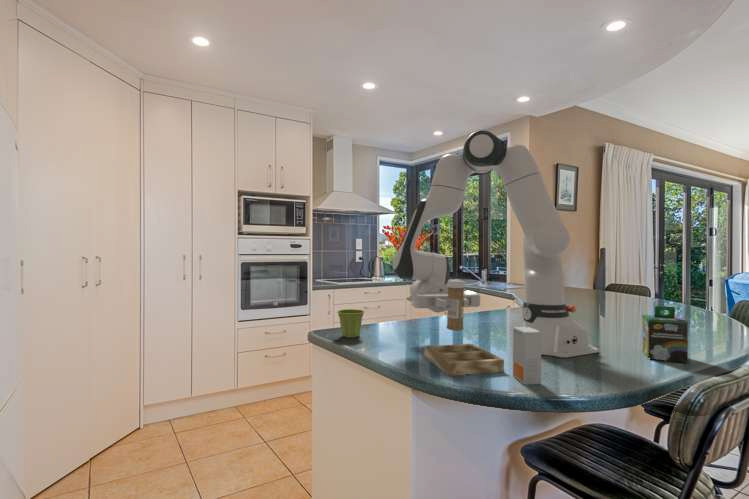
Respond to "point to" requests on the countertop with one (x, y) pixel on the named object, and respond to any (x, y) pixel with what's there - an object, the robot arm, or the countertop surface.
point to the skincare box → (527, 355)
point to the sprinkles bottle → (455, 305)
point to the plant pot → (350, 322)
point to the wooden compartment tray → (464, 359)
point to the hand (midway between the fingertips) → (456, 304)
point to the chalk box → (665, 336)
